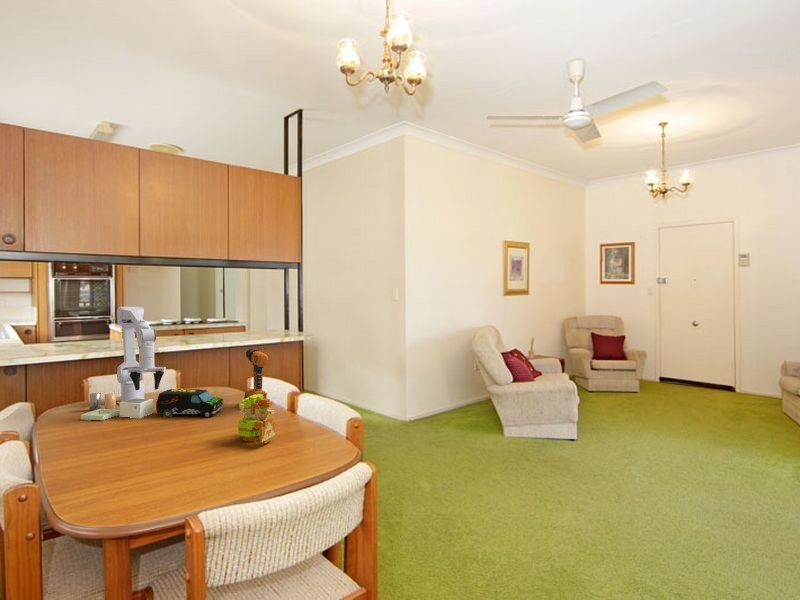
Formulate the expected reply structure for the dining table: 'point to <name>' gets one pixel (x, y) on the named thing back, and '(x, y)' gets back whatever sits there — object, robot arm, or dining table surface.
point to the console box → (136, 408)
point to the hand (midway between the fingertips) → (147, 389)
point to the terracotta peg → (110, 401)
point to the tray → (100, 414)
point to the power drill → (257, 371)
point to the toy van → (188, 402)
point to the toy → (256, 419)
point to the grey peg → (95, 401)
